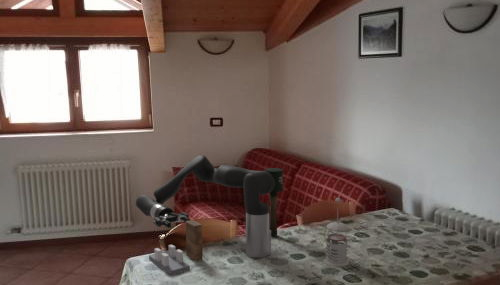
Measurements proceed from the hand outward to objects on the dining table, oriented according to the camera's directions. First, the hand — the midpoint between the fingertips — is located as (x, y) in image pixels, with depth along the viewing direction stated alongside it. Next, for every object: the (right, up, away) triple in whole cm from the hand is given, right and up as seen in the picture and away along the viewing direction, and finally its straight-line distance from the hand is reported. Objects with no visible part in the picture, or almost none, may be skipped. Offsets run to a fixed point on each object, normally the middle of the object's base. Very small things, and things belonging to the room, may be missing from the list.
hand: (179, 223), depth 186 cm
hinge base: (-2, -13, -14) cm, 19 cm away
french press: (+62, -12, -11) cm, 64 cm away
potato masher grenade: (+39, -8, +16) cm, 43 cm away
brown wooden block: (+7, -12, -8) cm, 16 cm away
